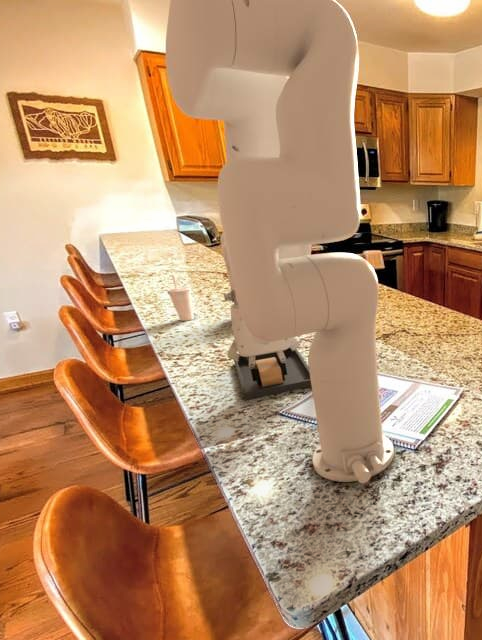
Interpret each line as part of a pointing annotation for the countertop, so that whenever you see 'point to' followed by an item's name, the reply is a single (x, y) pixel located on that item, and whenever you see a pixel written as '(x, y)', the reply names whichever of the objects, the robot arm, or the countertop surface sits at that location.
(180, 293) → the smoothie
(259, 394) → the tray
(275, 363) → the wooden block
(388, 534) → the countertop surface
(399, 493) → the countertop surface
